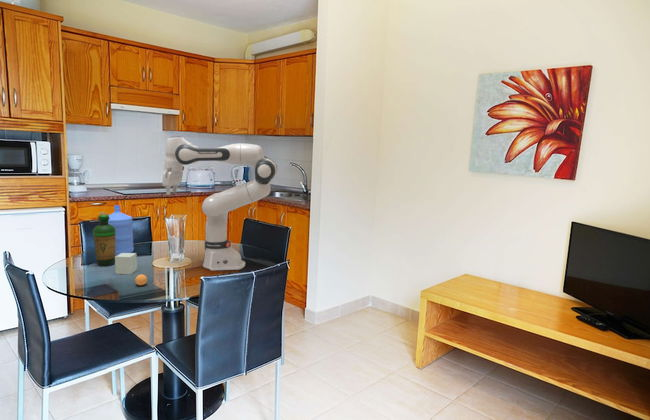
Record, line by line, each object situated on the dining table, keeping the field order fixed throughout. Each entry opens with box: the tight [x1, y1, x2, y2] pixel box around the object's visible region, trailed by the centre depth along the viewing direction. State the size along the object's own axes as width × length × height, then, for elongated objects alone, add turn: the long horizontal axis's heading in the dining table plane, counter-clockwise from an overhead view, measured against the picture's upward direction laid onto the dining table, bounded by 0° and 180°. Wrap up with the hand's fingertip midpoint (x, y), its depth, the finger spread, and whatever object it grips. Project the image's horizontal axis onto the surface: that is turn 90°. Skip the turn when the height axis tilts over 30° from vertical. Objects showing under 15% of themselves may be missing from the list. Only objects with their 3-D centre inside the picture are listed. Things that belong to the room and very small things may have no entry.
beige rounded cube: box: [114, 252, 138, 275], centre depth 208 cm, size 7×7×9 cm
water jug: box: [108, 204, 135, 256], centre depth 241 cm, size 16×16×28 cm
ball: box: [134, 273, 148, 286], centre depth 190 cm, size 5×5×5 cm
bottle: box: [92, 211, 116, 267], centre depth 217 cm, size 11×11×28 cm
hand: (171, 193), depth 217 cm, fingers open, 8 cm apart
